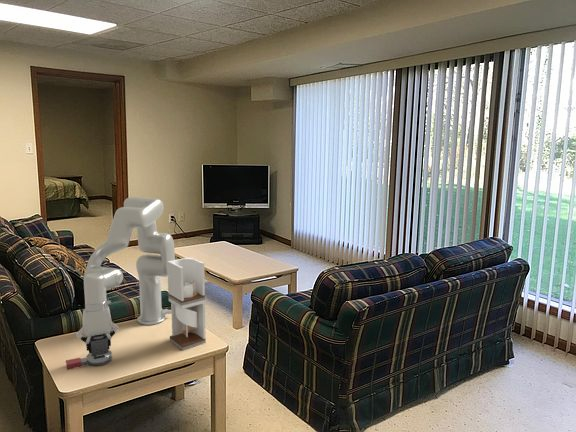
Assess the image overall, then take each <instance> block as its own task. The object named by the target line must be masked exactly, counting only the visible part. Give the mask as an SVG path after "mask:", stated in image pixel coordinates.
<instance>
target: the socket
mask: <svg viewBox="0 0 576 432" xmlns="http://www.w3.org/2000/svg"><path fill="white" fill-rule="evenodd" d="M90 344H91V356H97V355H101V354H106V353H109V351H108V350H109V349H108V338H107V335H106V334H101V335H95V336H91V339H90Z"/></svg>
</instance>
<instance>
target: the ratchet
mask: <svg viewBox="0 0 576 432" xmlns="http://www.w3.org/2000/svg"><path fill="white" fill-rule="evenodd" d="M108 351H109V353H106V354H101V355H97V356H91V353H89V352H88V354H87V355H86V357H83V358H81V357H75V358H71V359H67V360H65V363H66V364H65V365H66V370H67V371H68V370H73V369H78V368H82V367H86V366H89V365H90V367H101V366H105V365H108V364H109V363H110V362H112V360H113V356H112V355H113V353H112V351H111V350H110V349H108Z"/></svg>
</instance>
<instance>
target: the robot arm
mask: <svg viewBox="0 0 576 432" xmlns="http://www.w3.org/2000/svg"><path fill="white" fill-rule="evenodd" d="M164 206H165V205H164V203H163V201H162V200H161V199H159V198H157V197H155V198H154V197H144V196H142V197H141V196H140V197H137V196H132V197H131V196H130V197H127V198H125V200H124V201H123V207H118V209H116V210H115V213H114V216H113V219H112V221H111V225H110V228H109V231H108V234H107V238H106V240H105V241H104V242H103V243H102V244H100V245H99V246H98V247H97V248H96V249H95V250H94V251H93V253H91V255H90V257H89V258H88V261H87V264H86V267H85V271H84V277H83V290H84V291H83V292H84V309H83V310H82V327H81V328H80V329H79V330H78V331H77V333H76V334H75V337H76V338H77V339H79V340H81V341H82V342H84V343H85V345H86V352H87V351H88V354H89V353H91V344H90V339H91V336H95V335H101V334H106V335H107V338H108V350H110V347H111V346H112V341H111V340H112V338H113V336H115V334H116V333H117V331H118V330H119V329H120V327H119V326H118V325H117V324H116V323H115V322H113V321H112V316H111V310H110V309H111V308H110V306H109V305H110V304H112V300H108V299H107V290H110V289H114V288H116V287H118V286H119V285H121V284H122V282H123V280H124V274H123V272H122V270H120V269H119V268H114V267H104V266H101V265H102V263H103V262H104V260H105V259H106V258H107V257H109V256H111V255H112V254H115V253H116V252H120V251H122V250H124V249H126V248H128V247H129V244H130V240H131V237H132V233H133V230H134V229H136V231H137V233H136V234H137V242H138V243H137V245H138V249H139V251H140V252H143V253H147V254H142V255H140V256H139V257H138V258H137V260H136V262H135V263H136V265H135V266H136V272H137V275H138V281H139V282H138V284H139V303H140V306H139V309H140V310H139V311H140V315H139V316H138V317H137V319H136V320H137V323H139V324H141V325H145V326H153V325H156V324H157V325H158V324H161V323H162V322H164V321H165V320H166V315H172V313H171V309H168V308H165V309H163V308H162V284H161V281H160V278H159V277H165V278H168V266H167V261H172V260H176V259H175V258H176V255H175V254H176V253H175V242H174V239H173V236H172V235H171V234H169V233H166V232H158V228H157V222H156V221H157V220H158V219H159V218H160V217H161V216H162V215H163V212H164V210H165V209H164V208H165V207H164ZM82 334H83V335H82Z"/></svg>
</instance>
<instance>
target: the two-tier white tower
mask: <svg viewBox="0 0 576 432" xmlns="http://www.w3.org/2000/svg"><path fill="white" fill-rule="evenodd" d="M167 266H168V277H167V286H168V288H167V289H168V290H167V291H168V302H170V303H171V304H170V305H171V306H170V307H171V308H170V310H171V313H172V314H171V335H169V342H171V343H173V344H174V345H175V346H176V347H178V348H179V349H180V350H182V351H185V350H188V349H191V348H194V347H197V346H200V345H203V344H206V340H207V339H206V299H205V298H206V287H205V286H206V284H205V283H206V281H205V279H206V278H205V262H203V261H200V260H198V259H196V258H193V257H190V256H189V257H184V258H178V259H175V260H172V261H167Z"/></svg>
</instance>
